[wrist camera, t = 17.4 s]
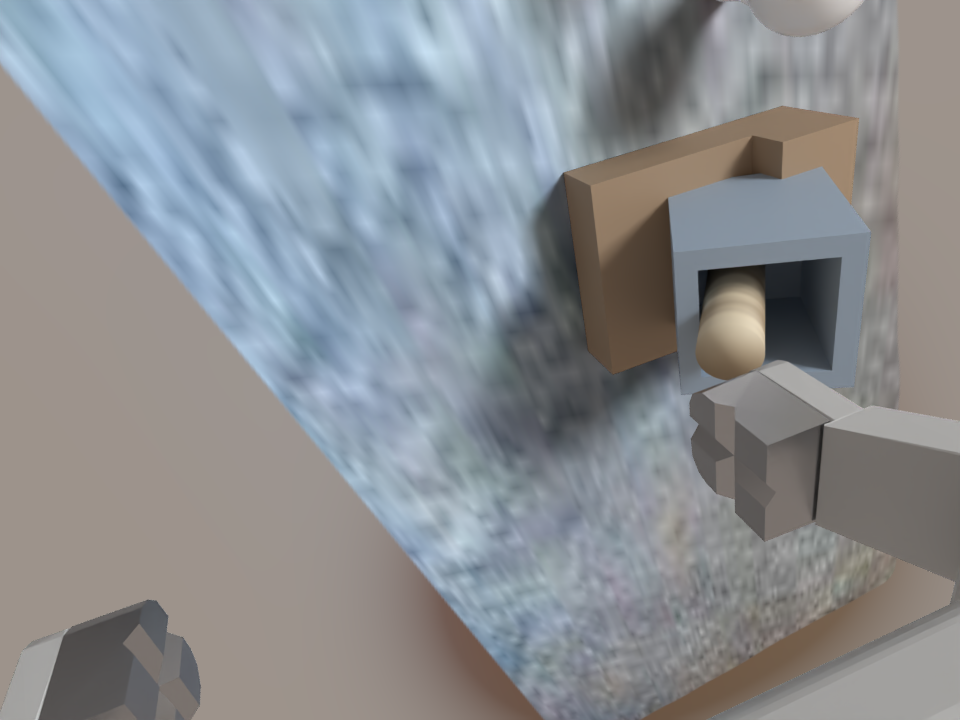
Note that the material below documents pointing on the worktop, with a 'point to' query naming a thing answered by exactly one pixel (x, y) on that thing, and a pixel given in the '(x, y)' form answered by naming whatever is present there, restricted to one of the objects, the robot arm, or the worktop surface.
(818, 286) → the socket
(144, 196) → the worktop surface
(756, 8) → the lightbulb
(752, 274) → the peg
